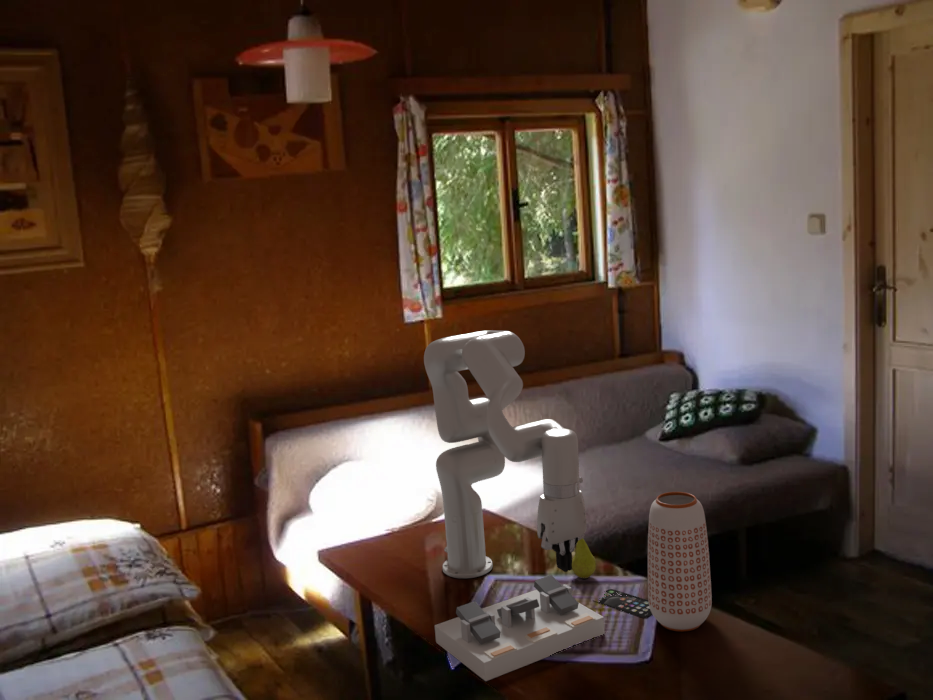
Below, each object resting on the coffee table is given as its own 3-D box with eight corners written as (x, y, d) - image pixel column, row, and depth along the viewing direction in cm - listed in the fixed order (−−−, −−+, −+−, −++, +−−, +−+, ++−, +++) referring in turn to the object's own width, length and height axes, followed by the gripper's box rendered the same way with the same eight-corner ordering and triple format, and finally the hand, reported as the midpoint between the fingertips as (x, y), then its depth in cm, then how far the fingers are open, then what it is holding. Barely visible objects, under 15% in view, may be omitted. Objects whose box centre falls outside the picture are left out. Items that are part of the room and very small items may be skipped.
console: (436, 642, 212) (433, 608, 211) (549, 601, 227) (547, 569, 225) (485, 681, 195) (482, 644, 194) (604, 634, 210) (602, 599, 208)
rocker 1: (455, 613, 208) (456, 605, 207) (474, 606, 210) (475, 599, 209) (480, 644, 200) (481, 636, 199) (499, 637, 203) (500, 629, 202)
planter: (713, 637, 205) (710, 509, 200) (648, 636, 208) (643, 509, 202) (711, 608, 218) (707, 487, 212) (649, 607, 221) (644, 487, 215)
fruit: (600, 579, 237) (598, 532, 234) (579, 584, 234) (576, 537, 232) (589, 570, 242) (586, 524, 239) (568, 575, 240) (565, 529, 237)
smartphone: (610, 588, 231) (664, 605, 220) (610, 590, 231) (664, 607, 221) (590, 599, 226) (645, 617, 215) (590, 602, 226) (645, 620, 216)
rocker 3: (533, 586, 218) (534, 578, 217) (550, 580, 220) (551, 573, 219) (560, 614, 210) (561, 607, 209) (577, 608, 212) (578, 601, 211)
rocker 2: (499, 616, 213) (496, 607, 213) (516, 610, 215) (513, 601, 215) (521, 613, 204) (518, 603, 205) (539, 606, 206) (536, 596, 207)
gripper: (578, 474, 213) (581, 553, 217) (521, 491, 205) (525, 572, 209) (601, 484, 206) (603, 565, 211) (542, 501, 199) (546, 585, 203)
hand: (564, 568), depth 210 cm, fingers closed
